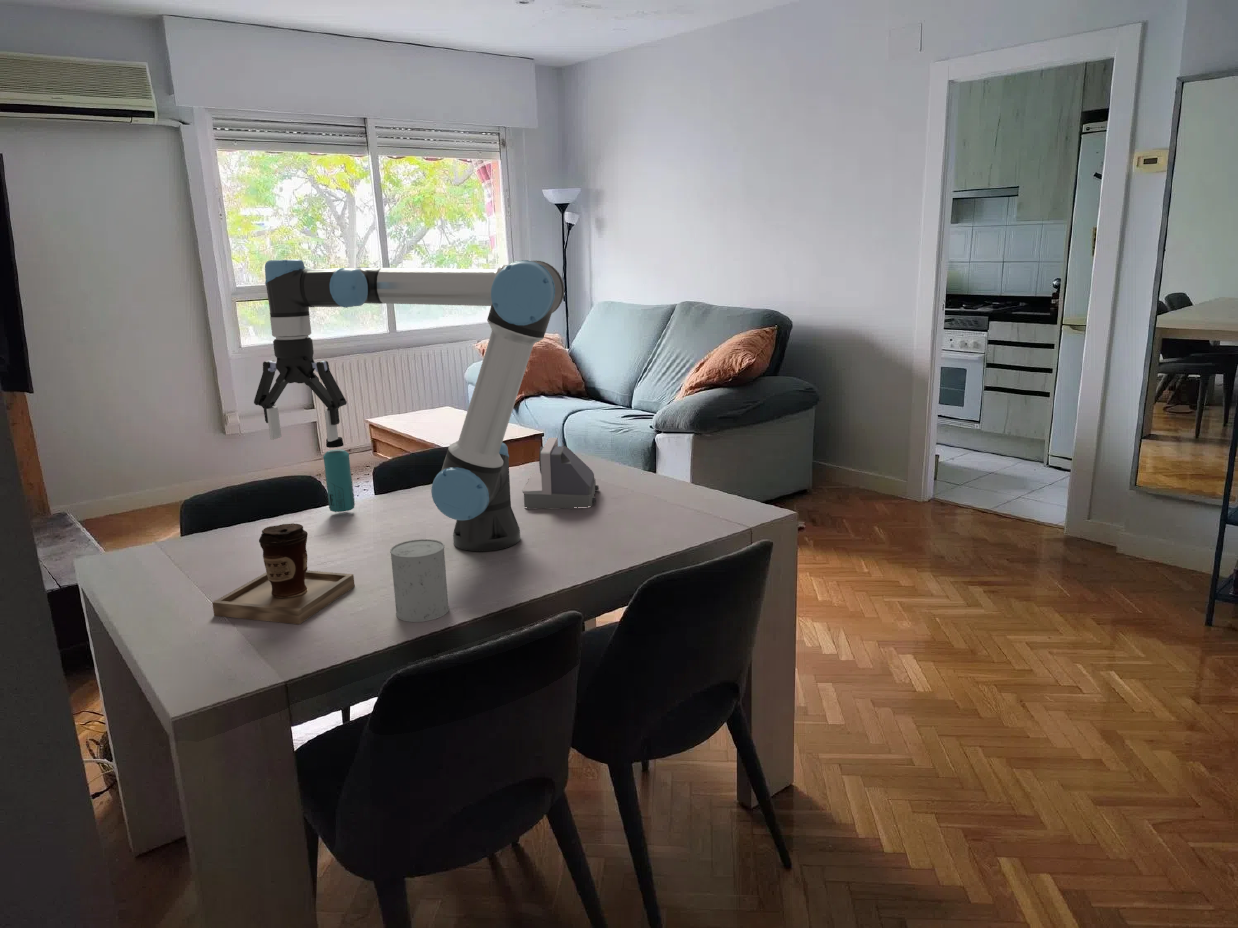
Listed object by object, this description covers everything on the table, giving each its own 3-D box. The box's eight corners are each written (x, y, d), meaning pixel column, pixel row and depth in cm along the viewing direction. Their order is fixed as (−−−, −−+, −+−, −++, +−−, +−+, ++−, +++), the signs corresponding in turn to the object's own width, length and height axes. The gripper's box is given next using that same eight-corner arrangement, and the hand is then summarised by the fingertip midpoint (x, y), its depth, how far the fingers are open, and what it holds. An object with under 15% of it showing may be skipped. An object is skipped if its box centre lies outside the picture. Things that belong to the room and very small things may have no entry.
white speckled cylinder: (400, 602, 159) (395, 540, 156) (451, 599, 160) (447, 538, 157) (391, 623, 150) (385, 558, 147) (445, 620, 151) (441, 555, 148)
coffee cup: (296, 603, 155) (288, 536, 152) (256, 600, 157) (247, 534, 154) (321, 585, 164) (314, 521, 160) (283, 583, 165) (275, 519, 162)
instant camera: (536, 487, 237) (533, 435, 233) (607, 489, 233) (606, 436, 229) (512, 509, 217) (509, 452, 213) (590, 512, 213) (588, 454, 209)
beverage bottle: (361, 511, 216) (353, 435, 212) (343, 519, 211) (334, 441, 206) (341, 509, 219) (334, 434, 214) (323, 516, 213) (314, 439, 208)
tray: (354, 586, 167) (353, 574, 166) (299, 624, 150) (297, 610, 150) (276, 579, 172) (274, 567, 171) (214, 615, 155) (212, 602, 154)
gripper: (357, 335, 172) (367, 437, 177) (251, 335, 178) (263, 433, 183) (336, 339, 165) (347, 444, 170) (227, 339, 171) (241, 441, 176)
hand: (304, 439), depth 177 cm, fingers open, 13 cm apart
